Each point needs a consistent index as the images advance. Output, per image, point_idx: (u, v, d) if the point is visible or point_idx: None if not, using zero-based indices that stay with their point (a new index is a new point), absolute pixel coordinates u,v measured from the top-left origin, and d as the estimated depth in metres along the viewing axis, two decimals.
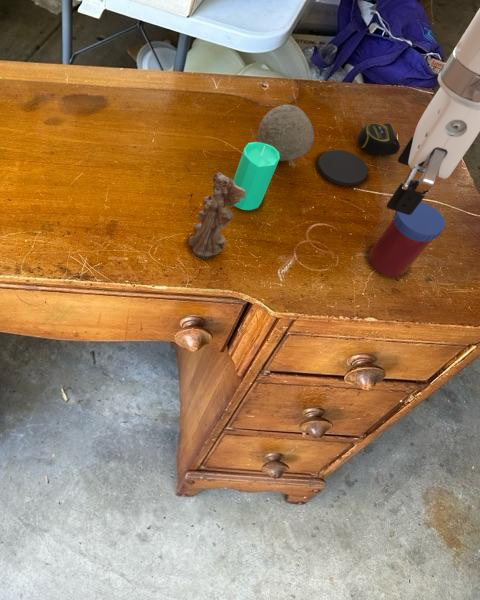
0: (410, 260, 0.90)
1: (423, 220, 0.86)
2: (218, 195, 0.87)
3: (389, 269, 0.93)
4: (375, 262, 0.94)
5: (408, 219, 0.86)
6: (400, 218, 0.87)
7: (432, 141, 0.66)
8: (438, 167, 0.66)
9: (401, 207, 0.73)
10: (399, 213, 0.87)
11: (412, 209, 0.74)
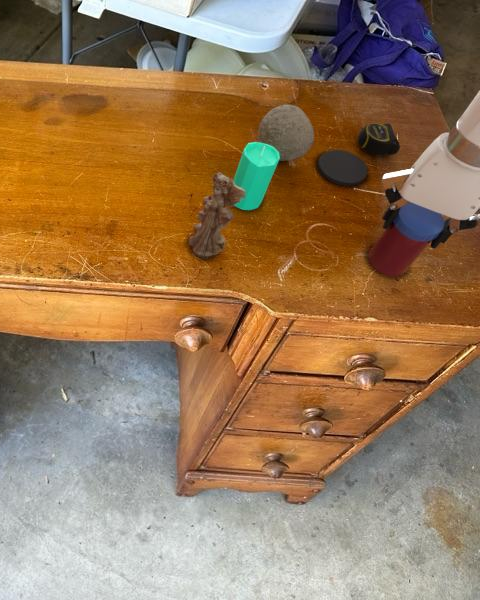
0: (410, 260, 0.90)
1: (423, 220, 0.86)
2: (218, 195, 0.87)
3: (389, 269, 0.93)
4: (375, 262, 0.94)
5: (408, 219, 0.86)
6: (400, 218, 0.87)
7: None
8: None
9: None
10: (399, 213, 0.87)
11: None
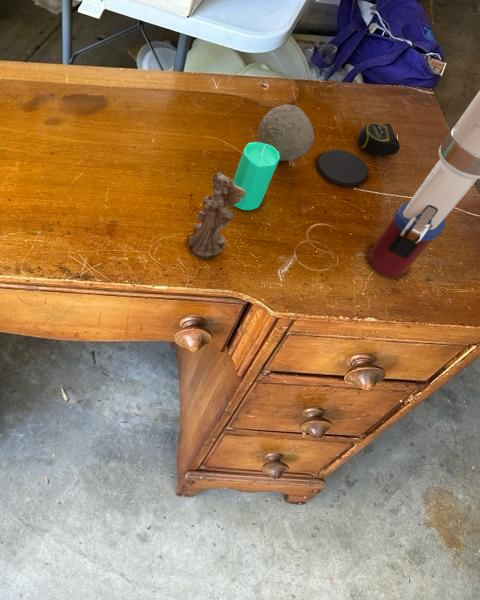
0: (410, 260, 0.90)
1: None
2: (218, 195, 0.87)
3: (389, 269, 0.93)
4: (375, 262, 0.94)
5: None
6: (433, 233, 0.85)
7: None
8: None
9: None
10: (427, 233, 0.85)
11: None
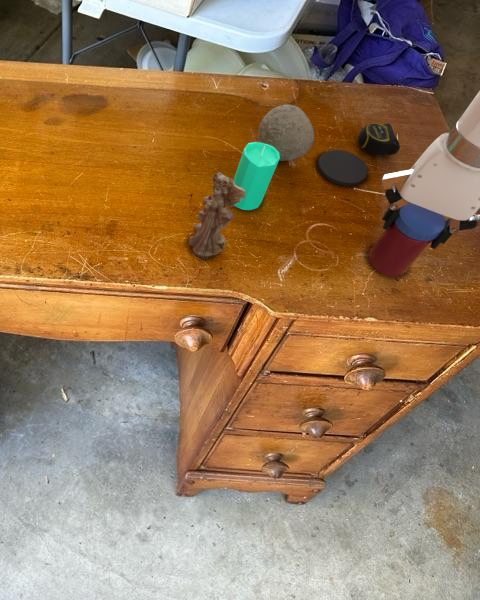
0: (410, 260, 0.90)
1: (425, 216, 0.87)
2: (218, 195, 0.87)
3: (389, 269, 0.93)
4: (375, 262, 0.94)
5: (431, 227, 0.85)
6: (433, 233, 0.85)
7: None
8: None
9: None
10: (427, 233, 0.85)
11: None
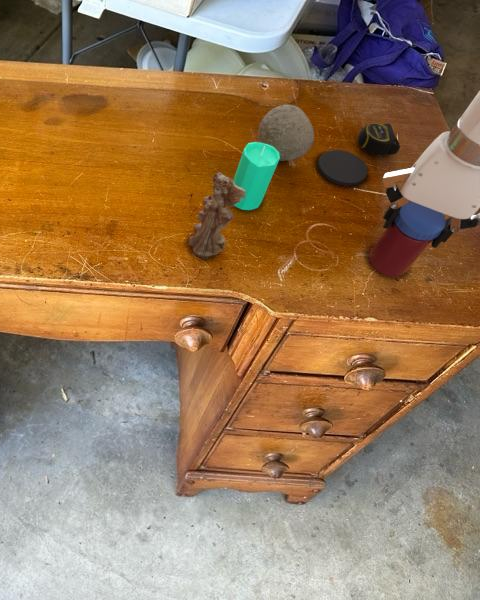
0: (411, 260, 0.90)
1: (419, 213, 0.87)
2: (218, 195, 0.87)
3: (391, 270, 0.93)
4: (376, 263, 0.94)
5: (433, 211, 0.87)
6: (440, 212, 0.87)
7: None
8: None
9: None
10: (443, 216, 0.87)
11: None
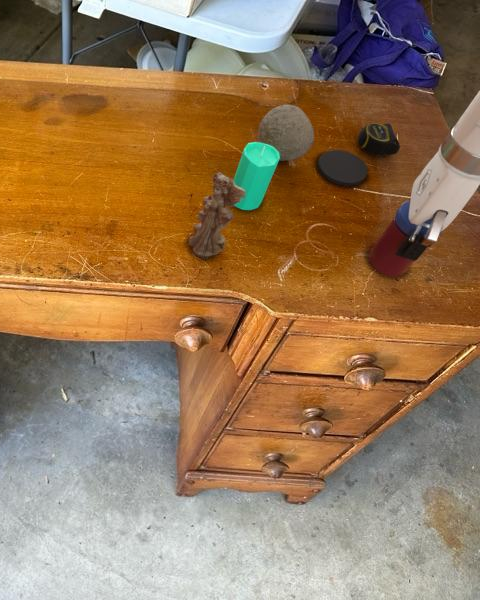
0: None
1: None
2: (218, 195, 0.87)
3: (391, 269, 0.93)
4: (376, 263, 0.94)
5: None
6: (407, 201, 0.88)
7: None
8: None
9: None
10: None
11: None
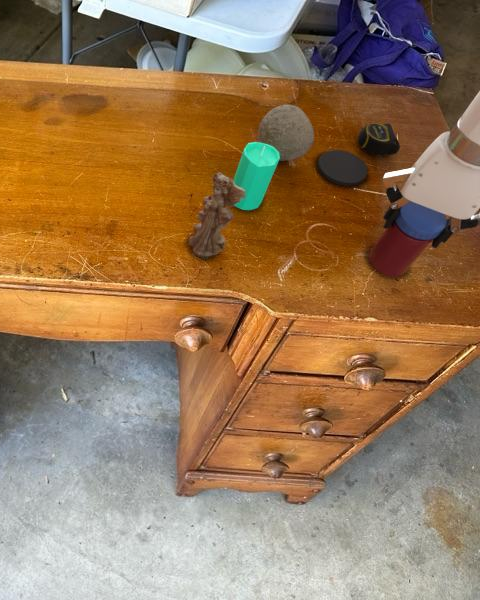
0: (412, 259, 0.90)
1: (420, 217, 0.86)
2: (218, 195, 0.87)
3: (391, 269, 0.93)
4: (376, 263, 0.94)
5: (411, 206, 0.87)
6: None
7: None
8: None
9: None
10: None
11: None
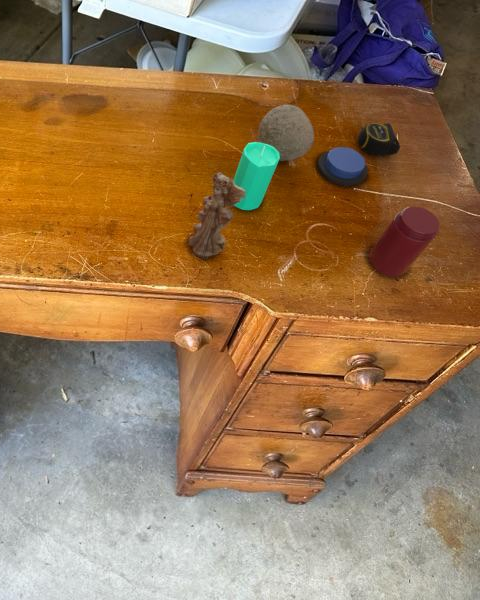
0: (412, 259, 0.90)
1: (348, 158, 1.06)
2: (218, 195, 0.87)
3: (392, 270, 0.93)
4: (376, 263, 0.94)
5: (355, 166, 1.05)
6: (358, 171, 1.04)
7: None
8: None
9: None
10: (353, 171, 1.04)
11: None
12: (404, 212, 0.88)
